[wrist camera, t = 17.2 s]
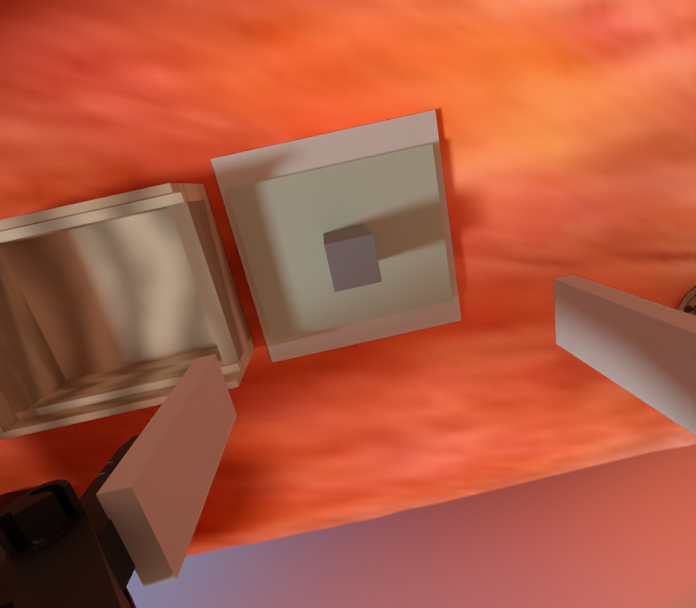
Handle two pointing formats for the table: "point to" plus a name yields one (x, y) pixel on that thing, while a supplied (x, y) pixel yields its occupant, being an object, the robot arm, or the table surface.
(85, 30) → the table surface
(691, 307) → the pencil case
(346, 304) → the sliding lid
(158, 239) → the wooden box
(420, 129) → the grey tray
